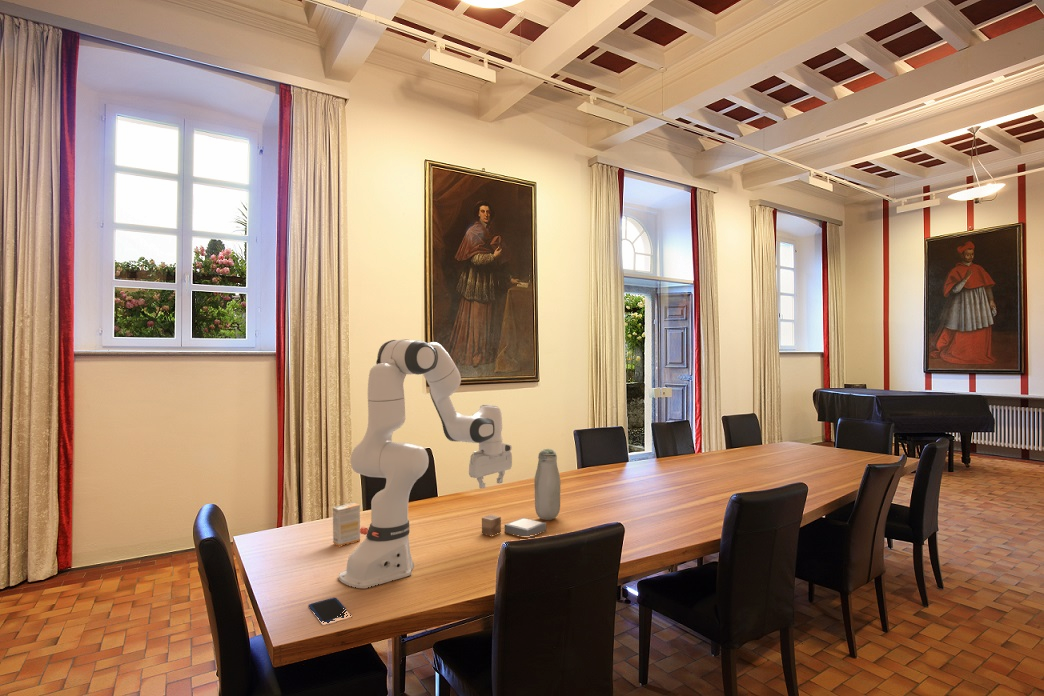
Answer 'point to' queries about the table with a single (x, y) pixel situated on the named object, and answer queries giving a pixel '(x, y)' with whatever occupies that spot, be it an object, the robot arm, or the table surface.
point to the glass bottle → (547, 485)
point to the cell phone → (328, 609)
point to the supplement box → (346, 524)
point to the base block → (525, 527)
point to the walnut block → (491, 525)
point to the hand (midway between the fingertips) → (491, 485)
